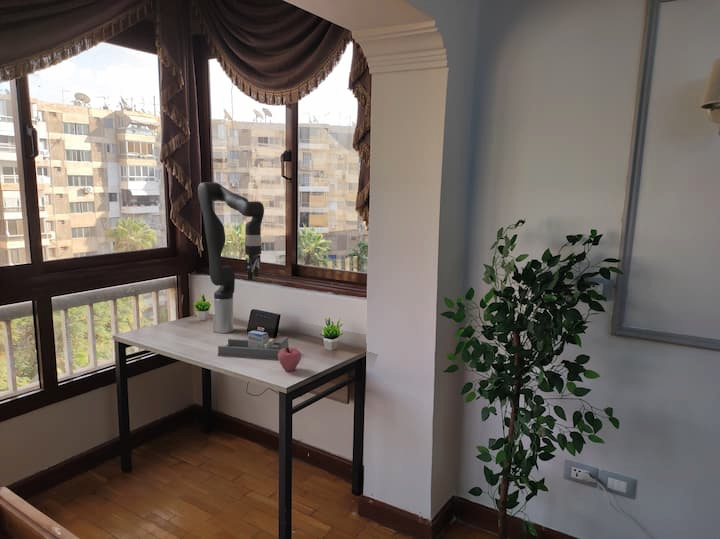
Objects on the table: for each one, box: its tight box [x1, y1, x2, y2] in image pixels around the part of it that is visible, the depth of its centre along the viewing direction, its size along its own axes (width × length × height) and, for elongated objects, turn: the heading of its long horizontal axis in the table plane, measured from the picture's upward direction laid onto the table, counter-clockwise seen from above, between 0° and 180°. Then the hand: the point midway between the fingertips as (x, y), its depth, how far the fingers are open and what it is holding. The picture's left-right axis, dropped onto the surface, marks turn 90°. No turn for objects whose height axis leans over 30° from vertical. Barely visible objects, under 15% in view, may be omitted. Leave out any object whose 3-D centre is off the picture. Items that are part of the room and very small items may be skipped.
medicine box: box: [247, 330, 269, 349], centre depth 234 cm, size 8×4×9 cm, turn 65°
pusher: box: [264, 338, 279, 349], centre depth 233 cm, size 5×9×4 cm, turn 172°
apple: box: [278, 346, 302, 372], centre depth 214 cm, size 10×9×10 cm
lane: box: [217, 336, 289, 361], centre depth 234 cm, size 28×13×7 cm, turn 82°
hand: (253, 278), depth 251 cm, fingers open, 8 cm apart
